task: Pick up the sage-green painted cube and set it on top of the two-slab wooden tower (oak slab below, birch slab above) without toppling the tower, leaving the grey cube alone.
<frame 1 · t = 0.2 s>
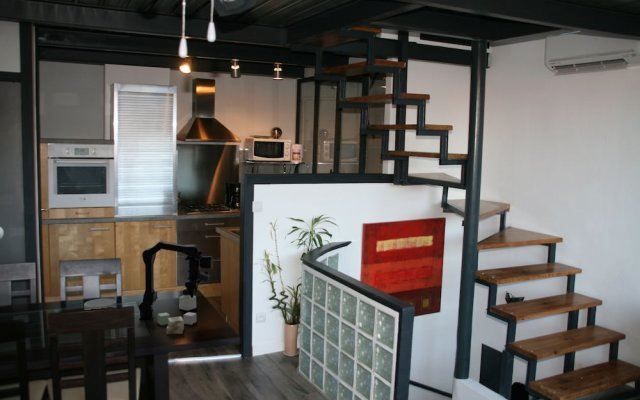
hand: (193, 295, 325), 14 cm above the table, fingers open, 9 cm apart
medicine bottle: (187, 308, 347), on the table
birch slab: (175, 325, 308), point 3 cm above the table, touching oak slab
grey cube: (189, 322, 322), on the table
oak slab: (175, 331, 308), on the table, touching birch slab
sage cube: (163, 323, 321), on the table
cereal bowl: (100, 314, 333), on the table
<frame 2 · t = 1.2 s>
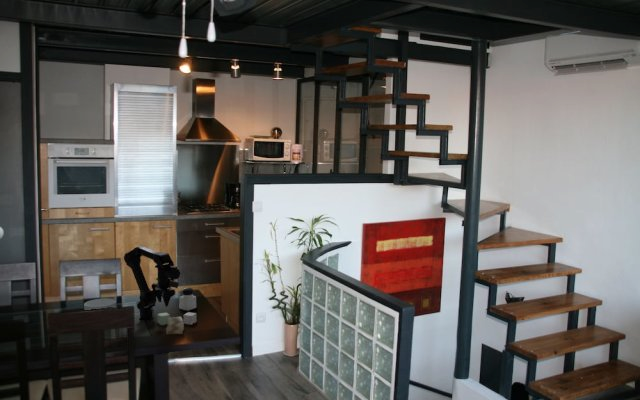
hand: (163, 304, 319), 11 cm above the table, fingers open, 9 cm apart
birch slab: (175, 325, 308), point 3 cm above the table
oak slab: (175, 332, 308), on the table
everything else where it was.
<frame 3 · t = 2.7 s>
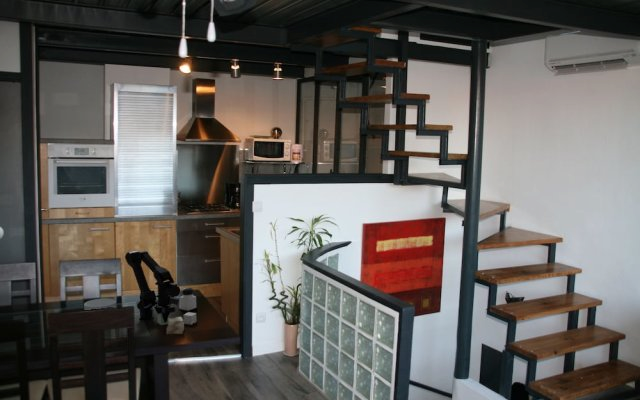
hand: (163, 321, 321), 1 cm above the table, fingers closed on sage cube, 5 cm apart
birch slab: (175, 325, 308), point 3 cm above the table, touching oak slab
oak slab: (175, 332, 308), on the table, touching birch slab
sage cube: (163, 323, 321), on the table, touching gripper
everything else where it was.
when the fingers open (9 cm above the table, at t = 5.9 s): sage cube drops 1 cm, point 7 cm above the table.
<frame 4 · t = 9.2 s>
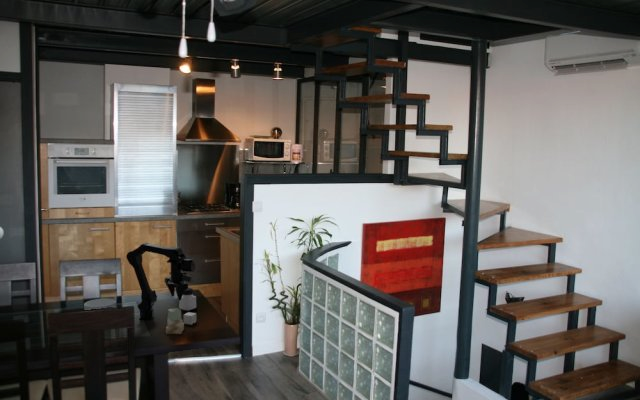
hand: (176, 298, 323), 13 cm above the table, fingers open, 9 cm apart
sage cube: (174, 318, 308), point 7 cm above the table
everything else where it was.
at the end: sage cube 0.4 cm off-centre on the birch slab, point 3.5 cm above the birch slab's base; birch slab tilted 0°; sage cube tilted 0° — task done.
